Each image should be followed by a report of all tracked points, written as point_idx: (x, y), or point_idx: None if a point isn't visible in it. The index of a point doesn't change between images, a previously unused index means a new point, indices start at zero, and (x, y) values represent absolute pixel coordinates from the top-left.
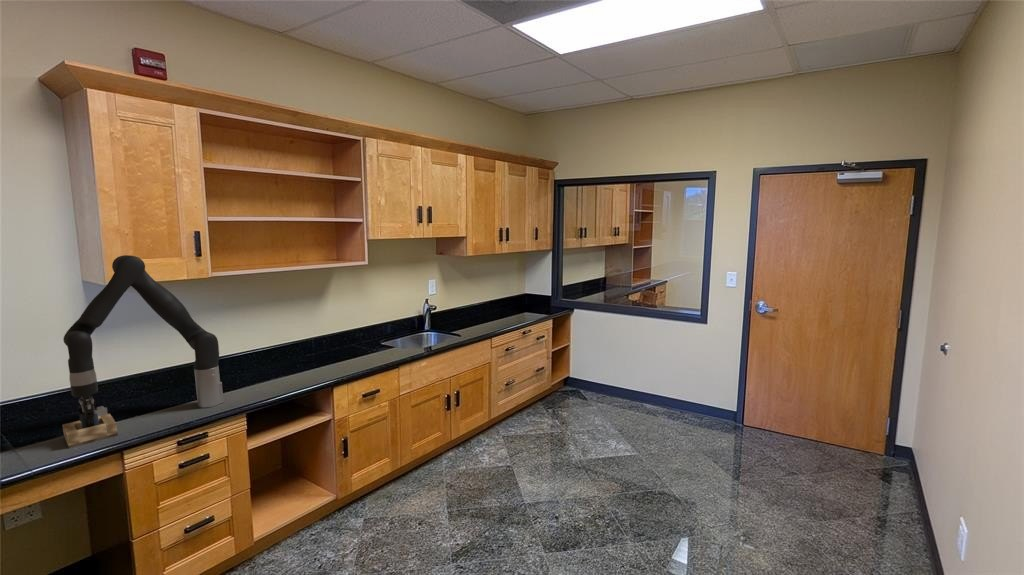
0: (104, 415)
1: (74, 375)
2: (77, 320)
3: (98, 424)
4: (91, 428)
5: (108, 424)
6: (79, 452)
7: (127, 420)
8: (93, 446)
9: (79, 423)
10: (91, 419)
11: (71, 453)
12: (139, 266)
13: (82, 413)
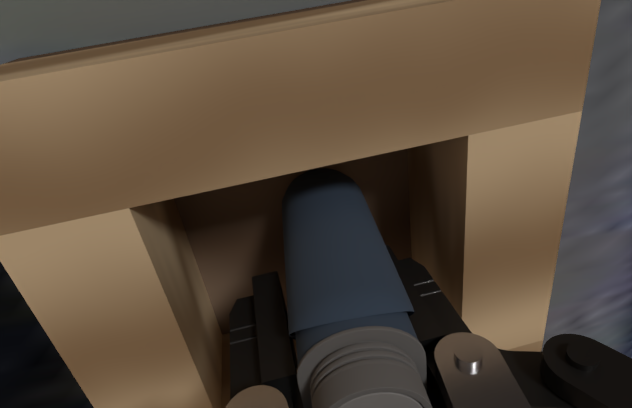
0: (2, 174)
1: None
2: None
3: (354, 202)
4: (534, 253)
5: (568, 83)
6: (608, 235)
7: None
8: (578, 167)
9: (207, 390)
10: (461, 322)
11: (578, 275)
12: None
13: None
